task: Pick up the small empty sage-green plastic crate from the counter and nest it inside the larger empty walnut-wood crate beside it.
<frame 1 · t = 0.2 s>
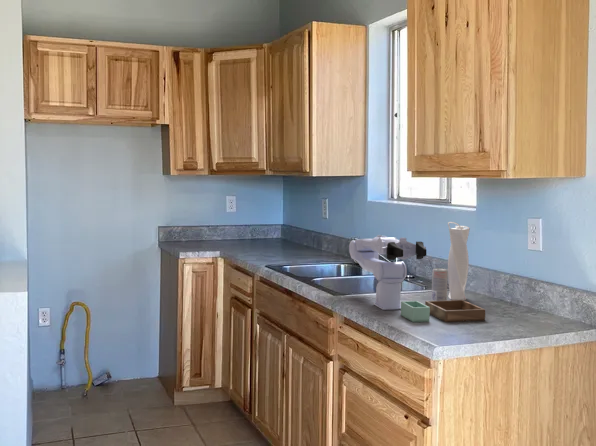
hand: (413, 252, 212), 21 cm above the worktop, tool horizontal, fingers open, 7 cm apart
twisted white candle: (456, 298, 250), on the worktop
big crate: (454, 315, 221), on the worktop
small crate: (414, 318, 217), on the worktop
energy drink: (439, 303, 241), on the worktop
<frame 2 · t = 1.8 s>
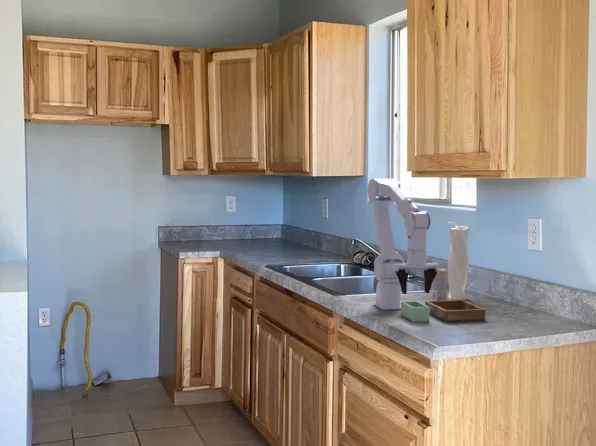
hand: (415, 293, 216), 8 cm above the worktop, tool pointing down, fingers open, 7 cm apart
nothing on the worktop moved.
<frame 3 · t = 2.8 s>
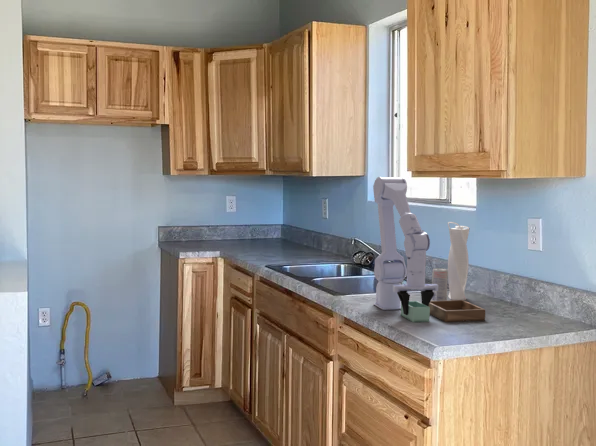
hand: (414, 313, 217), 1 cm above the worktop, tool pointing down, fingers closed on small crate, 5 cm apart
small crate: (414, 318, 217), on the worktop, touching gripper
everything else where it was.
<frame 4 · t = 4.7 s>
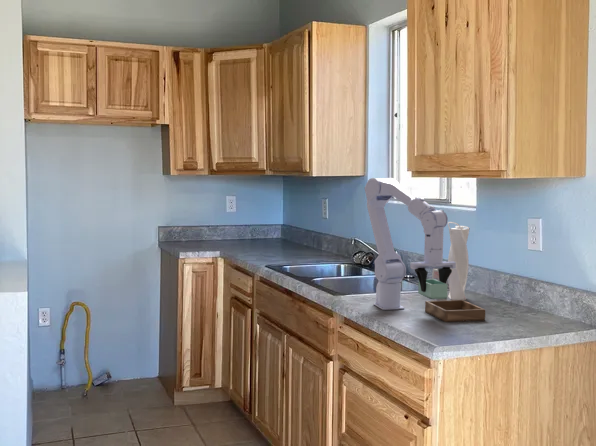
hand: (432, 291, 218), 8 cm above the worktop, tool pointing down, fingers closed on small crate, 5 cm apart
small crate: (432, 295, 218), point 7 cm above the worktop, touching gripper
everything else where it was.
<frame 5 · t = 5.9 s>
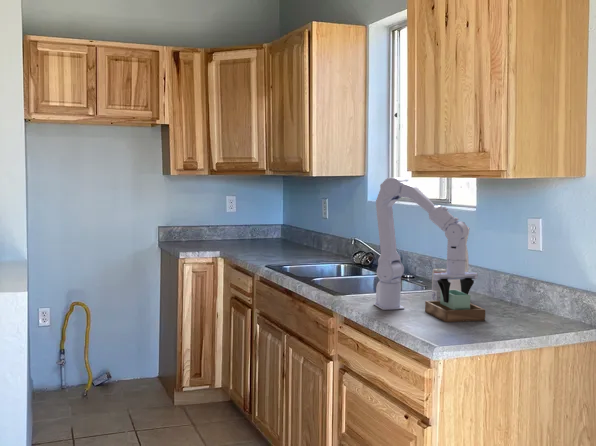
hand: (454, 301, 221), 5 cm above the worktop, tool pointing down, fingers closed on small crate, 5 cm apart
small crate: (454, 306, 221), point 3 cm above the worktop, touching gripper
everything else where it was.
when the fingers open (3 cm above the worktop, at t = 6.8 s): small crate stays where it is, resting on big crate.
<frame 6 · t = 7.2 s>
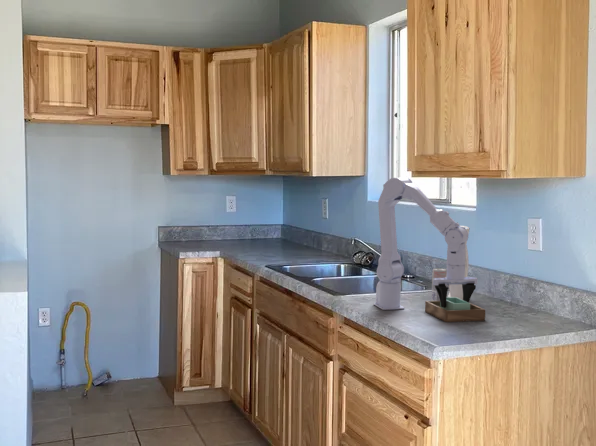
hand: (454, 306, 221), 3 cm above the worktop, tool pointing down, fingers open, 7 cm apart
small crate: (454, 314, 221), point 1 cm above the worktop, touching big crate
everything else where it was.
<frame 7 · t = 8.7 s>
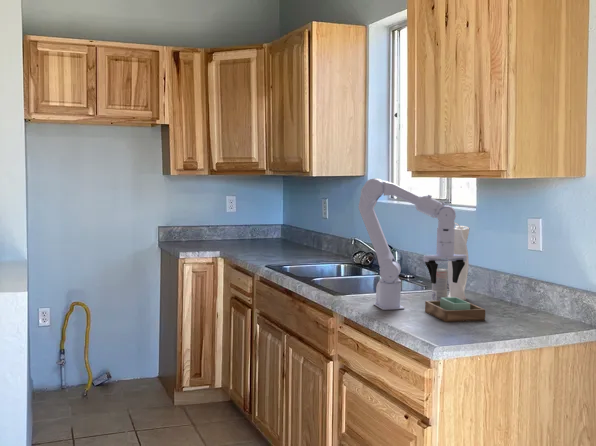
hand: (444, 282, 228), 9 cm above the worktop, tool pointing down, fingers open, 7 cm apart
nothing on the worktop moved.
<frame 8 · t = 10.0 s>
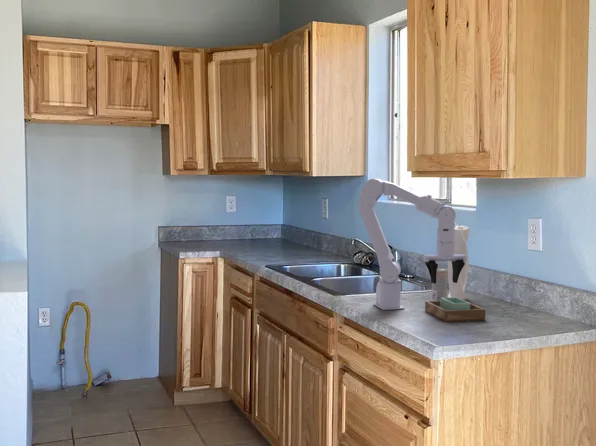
hand: (444, 282, 228), 9 cm above the worktop, tool pointing down, fingers open, 7 cm apart
nothing on the worktop moved.
at the end: small crate 0.1 cm off-centre on the big crate, point 0.6 cm above the big crate's base; small crate tilted 0°; the gripper is holding nothing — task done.
